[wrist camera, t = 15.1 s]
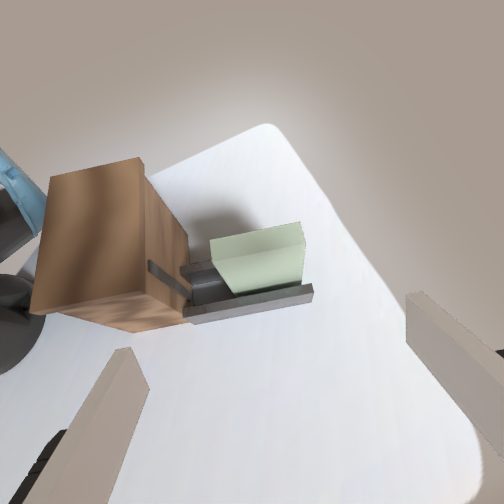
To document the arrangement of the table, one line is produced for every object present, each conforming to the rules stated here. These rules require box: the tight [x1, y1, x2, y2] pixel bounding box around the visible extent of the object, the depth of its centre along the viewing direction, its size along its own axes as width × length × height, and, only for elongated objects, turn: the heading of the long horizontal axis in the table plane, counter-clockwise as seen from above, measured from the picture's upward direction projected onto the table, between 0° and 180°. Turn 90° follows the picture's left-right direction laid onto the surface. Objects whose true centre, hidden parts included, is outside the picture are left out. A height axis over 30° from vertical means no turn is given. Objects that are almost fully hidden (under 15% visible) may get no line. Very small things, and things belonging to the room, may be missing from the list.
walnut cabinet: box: [29, 157, 193, 333], centre depth 36 cm, size 10×15×17 cm, turn 10°
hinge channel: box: [179, 260, 314, 325], centre depth 39 cm, size 16×7×5 cm, turn 99°
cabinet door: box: [210, 222, 306, 298], centre depth 35 cm, size 9×3×15 cm, turn 99°
